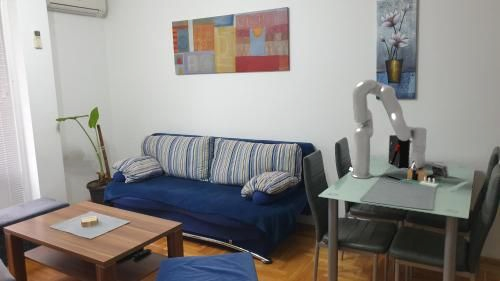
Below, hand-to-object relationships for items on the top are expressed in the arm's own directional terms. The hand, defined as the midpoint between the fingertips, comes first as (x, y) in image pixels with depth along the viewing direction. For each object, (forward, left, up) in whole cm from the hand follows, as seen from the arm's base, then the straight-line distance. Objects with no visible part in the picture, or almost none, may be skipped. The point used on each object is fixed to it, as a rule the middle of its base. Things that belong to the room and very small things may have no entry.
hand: (416, 178), depth 231 cm
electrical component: (-28, +30, -2) cm, 41 cm away
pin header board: (+5, -3, -2) cm, 6 cm away
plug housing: (0, 0, 0) cm, 0 cm away
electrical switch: (+6, +17, -2) cm, 18 cm away
